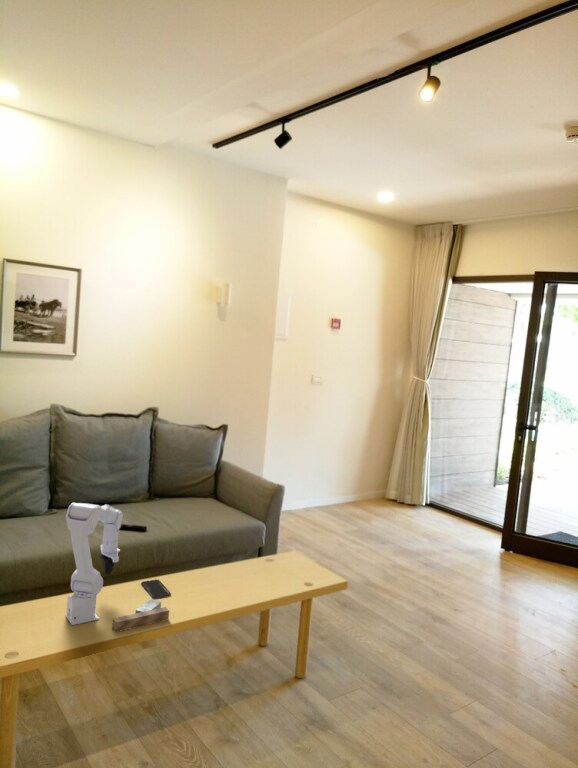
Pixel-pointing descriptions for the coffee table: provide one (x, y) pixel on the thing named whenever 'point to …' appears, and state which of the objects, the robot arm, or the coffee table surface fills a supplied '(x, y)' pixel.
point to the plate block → (149, 606)
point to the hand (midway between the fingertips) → (107, 573)
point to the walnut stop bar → (140, 619)
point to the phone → (155, 589)
